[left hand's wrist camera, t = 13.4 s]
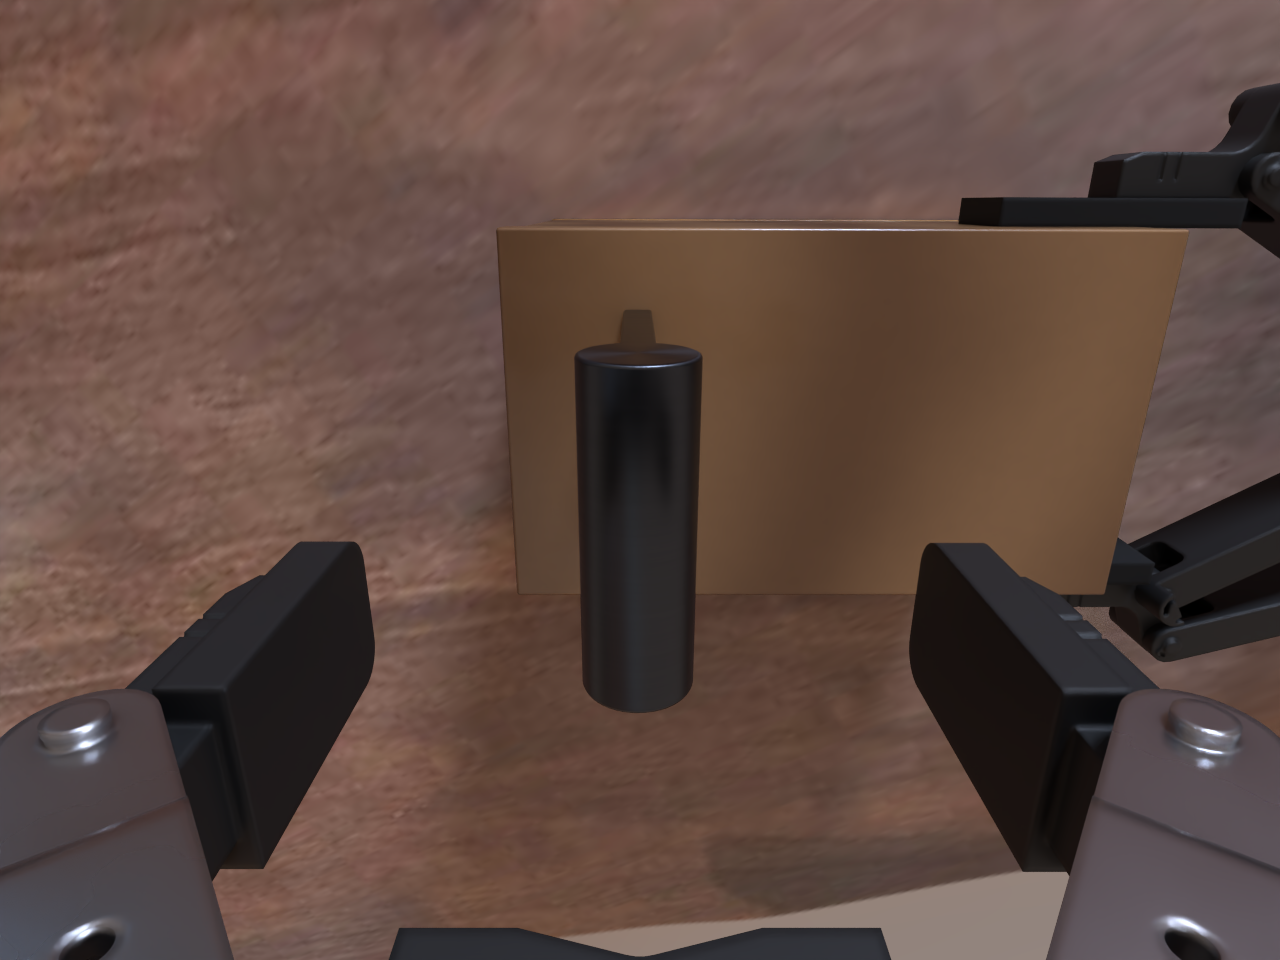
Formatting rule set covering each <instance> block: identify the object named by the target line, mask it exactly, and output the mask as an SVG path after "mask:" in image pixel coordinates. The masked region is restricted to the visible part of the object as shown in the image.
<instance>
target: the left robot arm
mask: <svg viewBox="0 0 1280 960" xmlns="http://www.w3.org/2000/svg"><path fill="white" fill-rule="evenodd" d="M1101 635H1102V634H1101V633H1100V632H1099V631H1098V630H1097V629H1096V628H1095V627H1093V626H1092V625H1091V624H1090V623H1089V622H1088V621H1087V620H1083V619H1082V615H1081V614H1080V613H1079V612H1077V611H1076V610H1075V609H1074V608H1073V607H1072V606H1071V605H1070V604H1069V603H1068V602H1067V601H1066V600H1065V599H1064V598H1063V597H1061V596H1060V595H1059V594H1057V593H1055V592H1053V591H1052V590H1050V589H1048V588H1046V587H1044V586H1042V585H1040V584H1038V583H1036V582H1034V581H1033V580H1031V579H1029V578H1027V577H1020V576H1019V575H1018V574H1017V573H1016V572H1015V571H1014V570H1013V569H1012V568H1011V567H1010V566H1009V565H1008V564H1007V563H1006V562H1005V561H1004V560H1003V559H1002V558H1001V557H1000V556H999V555H998V554H997V553H996V552H995V551H994V550H993V549H992V548H991V547H990V546H988V545H987V544H985V543H929V544H928V545H927V546H926V547H925V549H924V551H923V553H922V557H921V562H920V569H919V576H918V583H917V590H916V598H915V605H914V612H913V619H912V627H911V634H910V642H909V655H910V664H911V670H912V674H913V678H914V680H915V683H916V685H917V687H918V689H919V691H920V692H921V694H922V696H923V698H924V699H925V701H926V703H927V705H928V706H929V708H930V710H931V712H932V713H933V715H934V717H935V719H936V720H937V722H938V724H939V726H940V727H941V729H942V731H943V733H944V734H945V736H946V738H947V740H948V741H949V743H950V745H951V747H952V748H953V750H954V752H955V754H956V755H957V757H958V759H959V761H960V762H961V764H962V766H963V768H964V769H965V771H966V773H967V775H968V776H969V778H970V780H971V782H972V783H973V785H974V787H975V789H976V790H977V792H978V794H979V796H980V797H981V799H982V801H983V803H984V804H985V806H986V808H987V810H988V811H989V813H990V815H991V817H992V818H993V820H994V822H995V824H996V825H997V827H998V829H999V831H1000V832H1001V834H1002V836H1003V838H1004V839H1005V841H1006V843H1007V845H1008V846H1009V848H1010V850H1011V852H1012V853H1013V855H1014V857H1015V859H1016V860H1017V862H1018V864H1019V866H1020V867H1021V869H1022V871H1023V872H1067V873H1068V875H1069V876H1070V877H1069V880H1068V884H1067V887H1066V891H1065V894H1064V898H1063V902H1062V905H1061V909H1060V912H1059V916H1058V919H1057V923H1056V926H1055V930H1054V933H1053V937H1052V941H1051V944H1050V948H1049V951H1048V955H1047V958H1046V960H1280V738H1279V737H1278V736H1277V735H1276V734H1275V733H1274V732H1272V731H1271V730H1270V729H1269V728H1267V727H1266V726H1265V725H1263V724H1262V723H1260V722H1259V721H1257V720H1256V719H1254V718H1252V717H1251V716H1249V715H1247V714H1245V713H1243V712H1241V711H1239V710H1237V709H1235V708H1233V707H1231V706H1228V705H1226V704H1224V703H1221V702H1219V701H1216V700H1213V699H1210V698H1207V697H1204V696H1200V695H1196V694H1192V693H1188V692H1183V691H1177V690H1168V689H1159V688H1158V687H1157V686H1156V685H1155V684H1154V683H1153V682H1152V681H1151V680H1150V679H1149V678H1148V677H1147V676H1146V675H1145V674H1144V673H1142V672H1141V671H1140V670H1139V669H1138V668H1137V667H1136V666H1135V665H1134V664H1133V663H1132V662H1131V661H1130V660H1129V659H1128V658H1126V657H1125V656H1124V655H1123V654H1122V653H1121V652H1120V651H1119V650H1118V649H1117V648H1116V647H1115V646H1114V645H1113V644H1112V643H1110V642H1109V641H1108V640H1107V639H1102V637H1101ZM374 655H375V640H374V632H373V624H372V617H371V610H370V602H369V595H368V588H367V581H366V573H365V566H364V559H363V555H362V552H361V549H360V547H359V545H358V544H357V543H355V542H299V543H297V544H296V545H295V546H294V547H293V548H292V549H291V550H290V551H289V552H288V553H287V554H286V555H285V556H284V557H283V558H282V559H281V560H280V561H279V562H278V563H277V564H276V565H275V566H274V567H273V568H272V569H271V570H270V571H269V572H268V573H267V574H266V575H259V576H258V577H256V578H254V579H252V580H250V581H248V582H246V583H244V584H242V585H241V586H239V587H237V588H235V589H233V590H231V591H229V592H227V593H225V594H224V595H223V596H222V597H221V598H220V599H219V600H218V601H217V602H216V603H215V604H214V605H213V606H212V607H211V608H210V609H209V610H208V611H206V612H205V613H204V614H203V619H198V620H197V621H196V622H195V623H194V624H193V625H192V626H191V627H190V628H189V629H187V630H186V631H185V632H184V637H179V638H178V639H177V640H176V641H175V642H174V643H173V644H172V645H171V646H170V647H168V648H167V649H166V650H165V651H164V652H163V653H162V654H161V655H160V656H159V657H158V658H157V659H156V660H155V661H154V662H153V663H152V664H151V665H149V666H148V667H147V668H146V669H145V670H144V671H143V672H142V673H141V674H140V675H139V676H138V677H137V678H136V679H135V680H134V681H133V682H132V683H130V684H129V685H128V686H127V687H126V688H125V689H112V690H103V691H97V692H92V693H88V694H84V695H80V696H76V697H73V698H70V699H67V700H64V701H61V702H59V703H56V704H54V705H52V706H49V707H47V708H45V709H43V710H41V711H39V712H37V713H35V714H33V715H31V716H29V717H28V718H26V719H24V720H23V721H21V722H20V723H18V724H17V725H15V726H14V727H13V728H11V729H10V730H9V731H8V732H6V733H5V734H4V735H3V736H2V737H1V738H0V960H234V958H233V955H232V951H231V948H230V944H229V941H228V937H227V933H226V930H225V926H224V923H223V919H222V916H221V912H220V909H219V905H218V901H217V898H216V894H215V891H214V887H213V884H212V881H213V879H214V878H215V876H216V875H217V873H218V871H219V870H220V869H264V867H265V865H266V863H267V861H268V860H269V858H270V856H271V854H272V853H273V851H274V849H275V847H276V846H277V844H278V842H279V840H280V838H281V837H282V835H283V833H284V831H285V830H286V828H287V826H288V824H289V822H290V821H291V819H292V817H293V815H294V814H295V812H296V810H297V808H298V806H299V805H300V803H301V801H302V799H303V798H304V796H305V794H306V792H307V791H308V789H309V787H310V785H311V783H312V782H313V780H314V778H315V776H316V775H317V773H318V771H319V769H320V767H321V766H322V764H323V762H324V760H325V759H326V757H327V755H328V753H329V752H330V750H331V748H332V746H333V744H334V743H335V741H336V739H337V737H338V736H339V734H340V732H341V730H342V728H343V727H344V725H345V723H346V721H347V720H348V718H349V716H350V714H351V712H352V711H353V709H354V707H355V705H356V704H357V702H358V700H359V698H360V697H361V695H362V693H363V691H364V689H365V688H366V686H367V684H368V682H369V679H370V677H371V673H372V669H373V664H374ZM389 960H891V958H890V955H889V952H888V949H887V946H886V943H885V940H884V936H883V934H882V930H881V928H761V929H756V930H753V931H748V932H744V933H740V934H736V935H732V936H728V937H724V938H720V939H716V940H712V941H708V942H704V943H700V944H696V945H692V946H688V947H684V948H680V949H676V950H672V951H668V952H664V953H660V954H656V955H651V956H645V957H635V956H629V955H624V954H620V953H616V952H612V951H608V950H604V949H600V948H596V947H592V946H588V945H584V944H580V943H576V942H572V941H568V940H564V939H560V938H556V937H552V936H548V935H544V934H540V933H536V932H532V931H528V930H524V929H520V928H399V930H398V933H397V936H396V940H395V943H394V946H393V949H392V952H391V955H390V958H389Z"/></svg>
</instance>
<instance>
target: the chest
mask: <svg viewBox="0 0 1280 960" xmlns="http://www.w3.org/2000/svg"><path fill="white" fill-rule="evenodd" d="M958 222H959V220H723V219H553V220H552V221H547V222H543V223H538V224H533V225H528V226H583V227H934V228H1146V227H997V226H981V225H966V224H958Z"/></svg>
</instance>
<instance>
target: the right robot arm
mask: <svg viewBox="0 0 1280 960" xmlns="http://www.w3.org/2000/svg"><path fill="white" fill-rule="evenodd" d="M1229 123H1230V125H1231V127H1230V129H1229V131H1228V133H1227V134H1226V136H1225V137H1224V139H1223V140H1222V142H1221V143H1220V144H1219V145H1218V146H1217V147H1215V148H1214V149H1212V150H1211V151H1209V152H1138V153H1128V154H1118V155H1112V156H1110V157H1107V158H1105V159H1102V160H1100V161H1097V162H1095V163H1094V168H1093V173H1092V178H1091V183H1090V189H1089V194H1088V198H1024V197H998V198H962V200H961V208H960V215H959V222H958V224H966V225H981V226H997V227H1146V228H1238V229H1240V230H1241V231H1242V232H1244V233H1245V234H1247V235H1248V236H1249V237H1251V238H1252V239H1253V240H1255V241H1256V242H1258V243H1259V244H1260V245H1262V246H1263V247H1265V248H1266V249H1267V250H1269V251H1270V252H1271V253H1273V254H1274V255H1276V256H1277V257H1278V258H1280V83H1278V84H1272V85H1267V86H1262V87H1256V88H1252V89H1249V90H1246V91H1244V92H1243V93H1241V94H1240V95H1239V96H1237V98H1236V99H1235V101H1234V102H1233V103H1232V105H1231V108H1230V111H1229ZM1060 596H1061V597H1063V598H1064V599H1065V600H1066V601H1067V602H1068V603H1069V604H1070V605H1071V606H1072V607H1077V606H1080V607H1110V609H1109V616H1110V619H1111V620H1112V621H1113V622H1114V623H1116V624H1117V625H1118V626H1119V627H1120V628H1121V629H1122V630H1123V631H1124V632H1125V633H1127V634H1128V635H1129V636H1130V637H1131V638H1132V639H1133V640H1135V641H1136V642H1137V643H1138V644H1139V645H1140V646H1142V647H1143V648H1144V649H1145V650H1146V651H1148V652H1149V653H1150V654H1151V655H1152V656H1153V657H1155V658H1156V659H1157V660H1159V661H1162V662H1171V661H1175V660H1180V659H1184V658H1188V657H1192V656H1196V655H1201V654H1205V653H1209V652H1213V651H1218V650H1222V649H1226V648H1230V647H1234V646H1239V645H1243V644H1247V643H1251V642H1256V641H1260V640H1264V639H1268V638H1272V637H1277V636H1280V473H1279V474H1277V475H1275V476H1272V477H1270V478H1268V479H1266V480H1264V481H1262V482H1260V483H1257V484H1255V485H1253V486H1251V487H1249V488H1247V489H1245V490H1243V491H1240V492H1238V493H1236V494H1234V495H1232V496H1230V497H1228V498H1225V499H1223V500H1221V501H1219V502H1217V503H1215V504H1213V505H1211V506H1208V507H1206V508H1204V509H1202V510H1200V511H1198V512H1196V513H1193V514H1191V515H1189V516H1187V517H1185V518H1183V519H1181V520H1179V521H1176V522H1174V523H1172V524H1170V525H1168V526H1166V527H1164V528H1162V529H1159V530H1157V531H1155V532H1153V533H1151V534H1149V535H1147V536H1144V537H1142V538H1140V539H1138V540H1136V541H1134V542H1132V543H1130V544H1126V543H1125V542H1124V541H1122V540H1121V539H1119V538H1117V542H1116V546H1115V551H1114V555H1113V559H1112V563H1111V568H1110V572H1109V576H1108V581H1107V585H1106V589H1105V593H1104V594H1103V595H1060Z"/></svg>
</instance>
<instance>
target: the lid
mask: <svg viewBox="0 0 1280 960" xmlns="http://www.w3.org/2000/svg"><path fill="white" fill-rule="evenodd" d="M496 234H497V251H498V268H499V286H500V303H501V320H502V337H503V355H504V372H505V389H506V406H507V424H508V441H509V458H510V475H511V493H512V510H513V527H514V544H515V562H516V579H517V593H518V594H520V595H581V633H582V670H583V684H584V687H585V689H586V691H587V693H588V694H589V695H590V696H591V697H592V698H593V699H594V700H595V701H597V702H598V703H600V704H601V705H603V706H606V707H608V708H611V709H614V710H617V711H622V712H630V713H646V712H654V711H658V710H662V709H665V708H668V707H670V706H673V705H674V704H676V703H678V702H679V701H681V700H682V699H683V698H684V697H685V696H686V695H687V693H688V692H689V690H690V688H691V686H692V683H693V659H694V626H695V595H916V590H917V583H918V576H919V569H920V562H921V557H922V553H923V551H924V549H925V547H926V546H927V545H928V544H929V543H985V544H987V545H988V546H990V547H991V548H992V549H993V550H994V551H995V552H996V553H997V554H998V555H999V556H1000V557H1001V558H1002V559H1003V560H1004V561H1005V562H1006V563H1007V564H1008V565H1009V566H1010V567H1011V568H1012V569H1013V570H1014V571H1015V572H1016V573H1017V574H1018V575H1019V576H1020V577H1027V578H1029V579H1031V580H1033V581H1034V582H1036V583H1038V584H1040V585H1042V586H1044V587H1046V588H1048V589H1050V590H1052V591H1053V592H1055V593H1057V594H1059V595H1103V594H1104V593H1105V589H1106V585H1107V581H1108V576H1109V572H1110V568H1111V563H1112V559H1113V555H1114V551H1115V546H1116V542H1117V538H1118V534H1119V529H1120V525H1121V521H1122V517H1123V512H1124V508H1125V504H1126V500H1127V495H1128V491H1129V487H1130V483H1131V478H1132V474H1133V470H1134V465H1135V461H1136V457H1137V453H1138V448H1139V444H1140V440H1141V436H1142V431H1143V427H1144V423H1145V419H1146V414H1147V410H1148V406H1149V402H1150V397H1151V393H1152V389H1153V385H1154V380H1155V376H1156V372H1157V367H1158V363H1159V359H1160V355H1161V350H1162V346H1163V342H1164V338H1165V333H1166V329H1167V325H1168V321H1169V316H1170V312H1171V308H1172V304H1173V299H1174V295H1175V291H1176V287H1177V282H1178V278H1179V274H1180V269H1181V265H1182V261H1183V257H1184V252H1185V248H1186V244H1187V240H1188V235H1189V231H1188V230H1186V229H1167V228H934V227H583V226H505V227H499V228H497V230H496Z"/></svg>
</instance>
